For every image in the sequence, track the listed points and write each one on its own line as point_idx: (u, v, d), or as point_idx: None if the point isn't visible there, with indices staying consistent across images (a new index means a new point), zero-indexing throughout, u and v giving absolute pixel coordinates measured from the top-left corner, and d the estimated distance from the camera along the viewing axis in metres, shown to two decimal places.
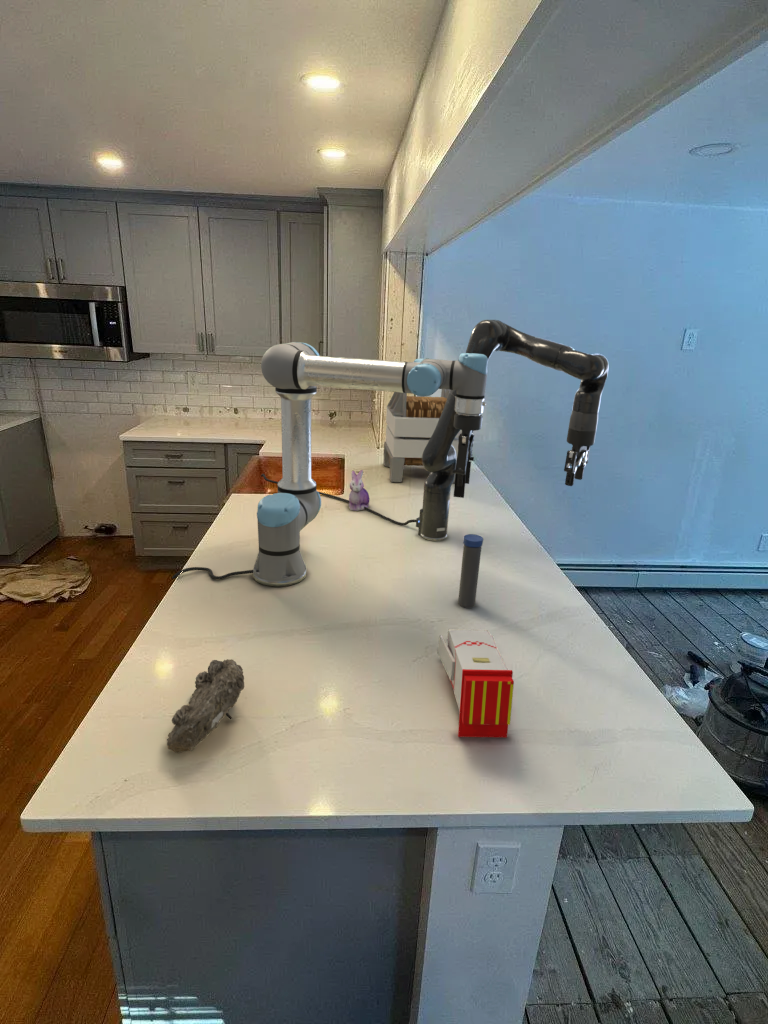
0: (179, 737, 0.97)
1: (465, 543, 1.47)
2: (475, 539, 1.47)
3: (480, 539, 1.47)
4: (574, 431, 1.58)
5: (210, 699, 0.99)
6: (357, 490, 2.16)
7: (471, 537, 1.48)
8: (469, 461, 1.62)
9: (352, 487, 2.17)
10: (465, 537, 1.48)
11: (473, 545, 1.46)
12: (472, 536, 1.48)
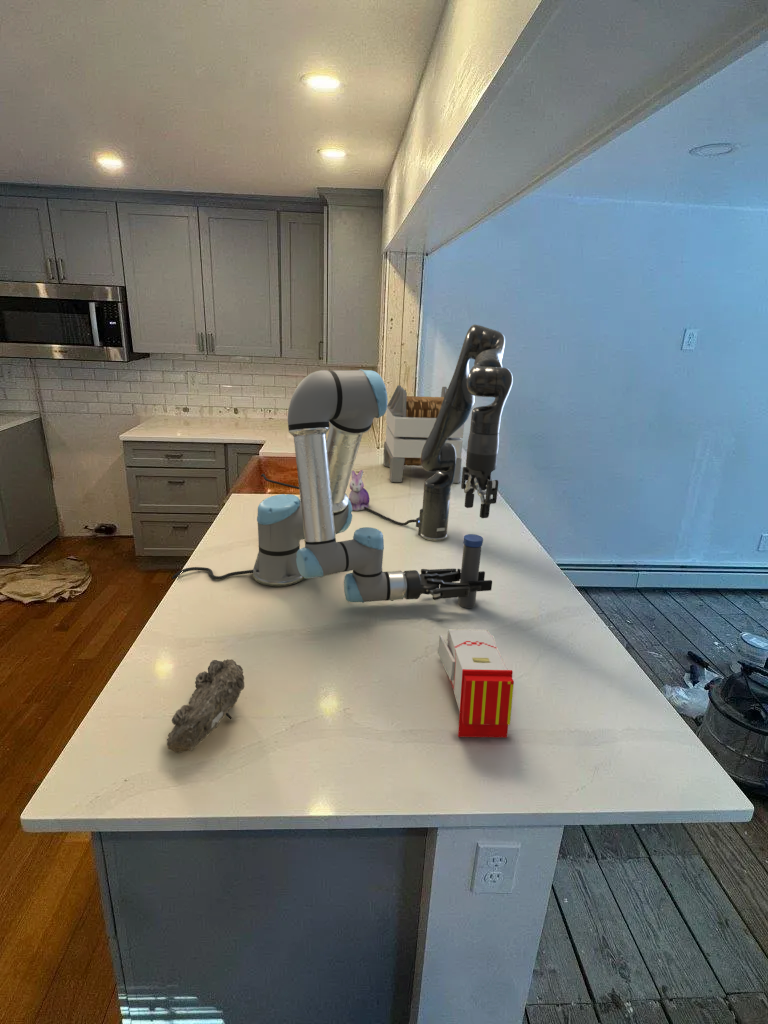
0: (179, 737, 0.97)
1: (465, 543, 1.47)
2: (475, 539, 1.47)
3: (480, 539, 1.47)
4: None
5: (210, 699, 0.99)
6: (357, 490, 2.16)
7: (471, 537, 1.48)
8: None
9: (352, 487, 2.17)
10: (465, 537, 1.48)
11: (473, 545, 1.46)
12: (472, 536, 1.48)
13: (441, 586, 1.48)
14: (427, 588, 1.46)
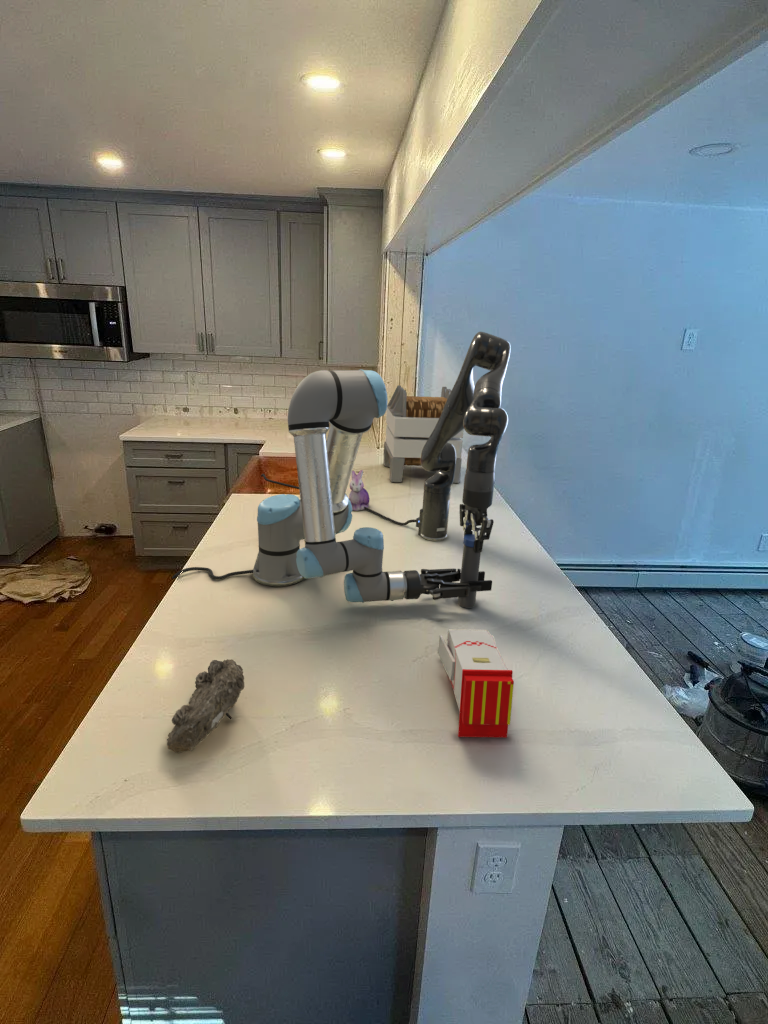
0: (179, 737, 0.97)
1: (465, 543, 1.47)
2: None
3: None
4: None
5: (210, 699, 0.99)
6: (357, 490, 2.16)
7: (471, 537, 1.48)
8: None
9: (352, 487, 2.17)
10: (465, 537, 1.48)
11: (473, 545, 1.46)
12: (472, 536, 1.48)
13: (441, 586, 1.48)
14: (427, 588, 1.46)
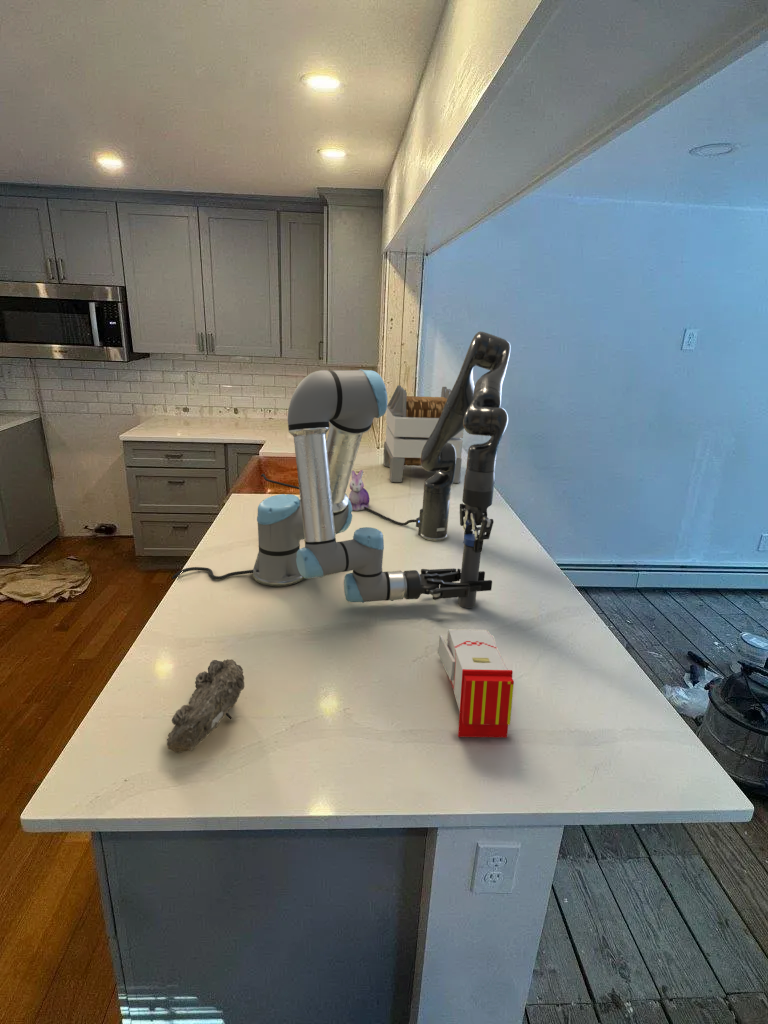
0: (179, 737, 0.97)
1: None
2: None
3: None
4: None
5: (210, 699, 0.99)
6: (357, 490, 2.16)
7: (473, 537, 1.47)
8: None
9: (352, 487, 2.17)
10: None
11: None
12: (470, 537, 1.47)
13: (441, 586, 1.48)
14: (427, 588, 1.46)
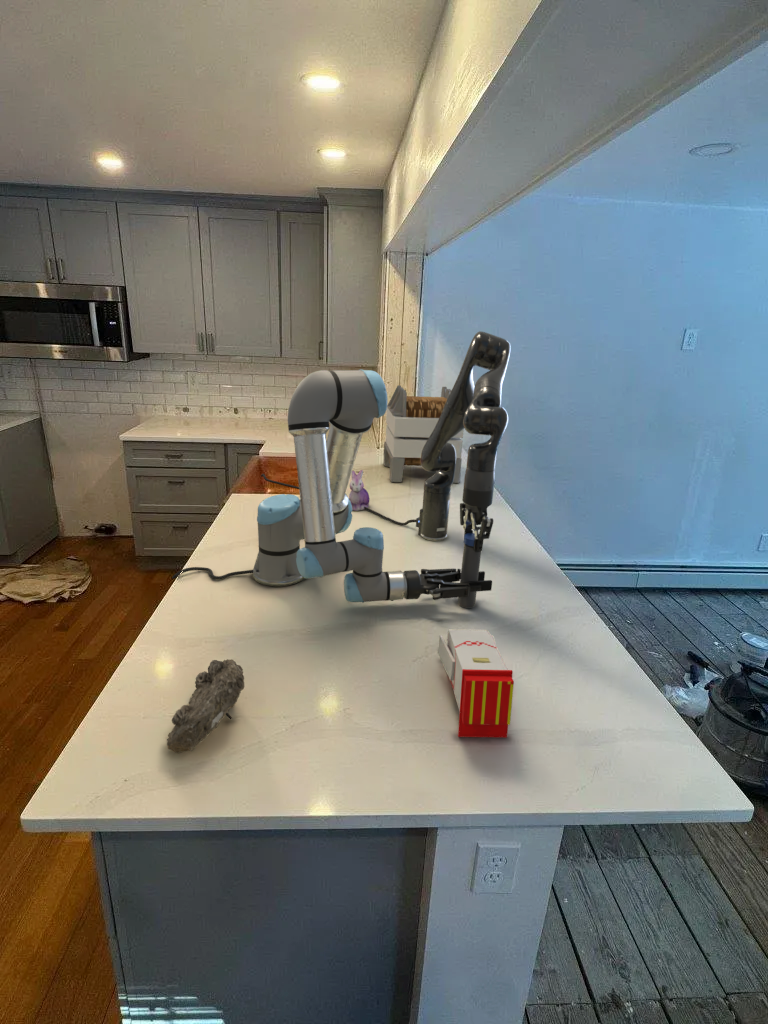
0: (179, 737, 0.97)
1: None
2: (471, 534, 1.49)
3: (466, 535, 1.48)
4: None
5: (210, 699, 0.99)
6: (357, 490, 2.16)
7: None
8: None
9: (352, 487, 2.17)
10: None
11: None
12: None
13: (441, 586, 1.48)
14: (427, 588, 1.46)
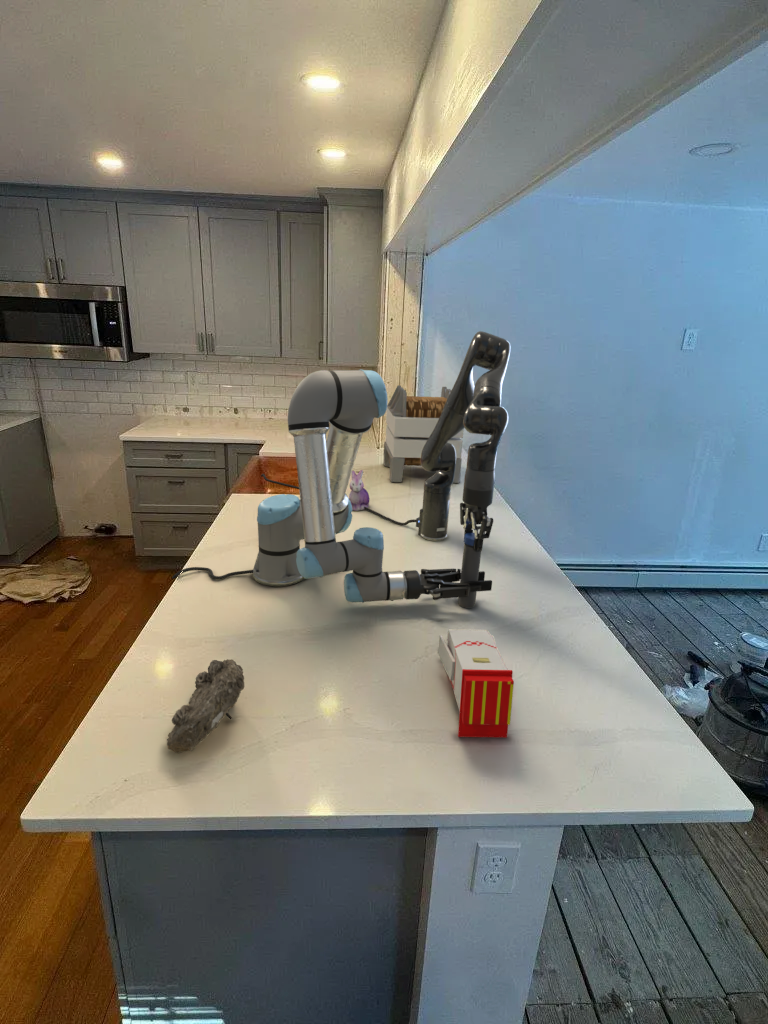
0: (179, 737, 0.97)
1: None
2: (469, 536, 1.47)
3: (472, 538, 1.46)
4: None
5: (210, 699, 0.99)
6: (357, 490, 2.16)
7: (473, 535, 1.48)
8: None
9: (352, 487, 2.17)
10: (471, 533, 1.49)
11: (464, 540, 1.48)
12: None
13: (441, 586, 1.48)
14: (427, 588, 1.46)
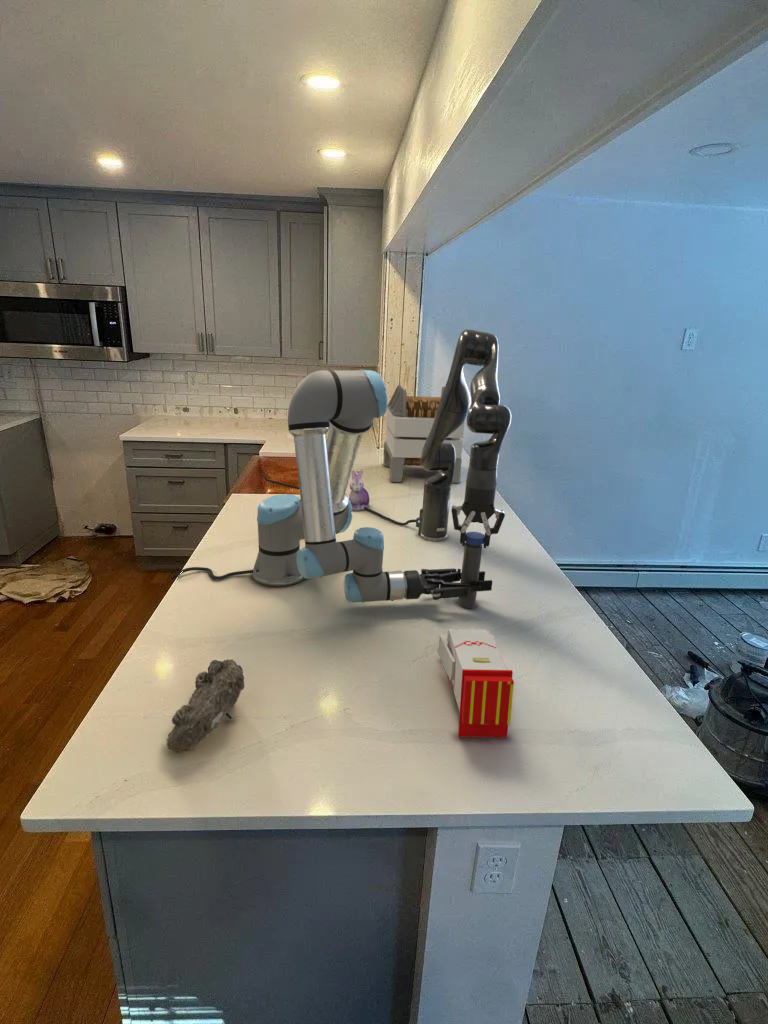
0: (179, 737, 0.97)
1: (478, 543, 1.46)
2: (480, 535, 1.48)
3: (480, 533, 1.49)
4: None
5: (210, 699, 0.99)
6: (357, 490, 2.16)
7: (474, 535, 1.47)
8: None
9: (352, 487, 2.17)
10: (474, 538, 1.46)
11: None
12: (472, 534, 1.48)
13: (441, 586, 1.48)
14: (427, 588, 1.46)
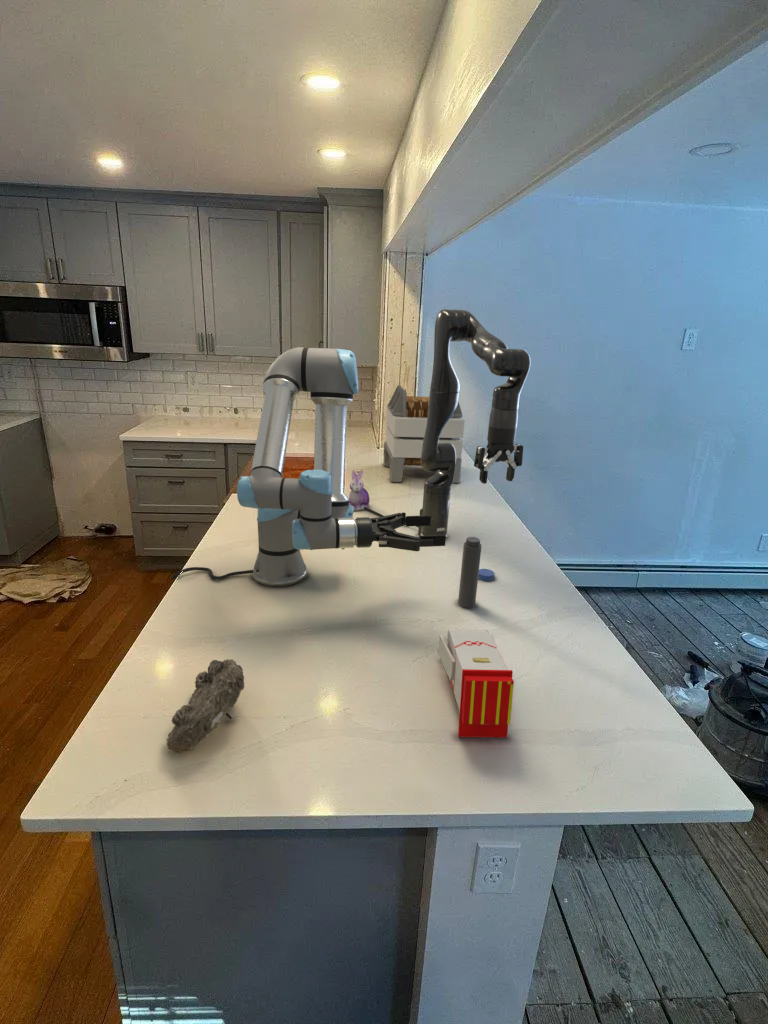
0: (179, 737, 0.97)
1: (492, 578, 1.68)
2: (489, 571, 1.70)
3: (486, 569, 1.71)
4: (489, 427, 1.54)
5: (210, 699, 0.99)
6: (357, 490, 2.16)
7: (486, 573, 1.69)
8: None
9: (352, 487, 2.17)
10: (489, 575, 1.68)
11: None
12: (483, 572, 1.69)
13: (392, 535, 1.39)
14: (377, 534, 1.38)
